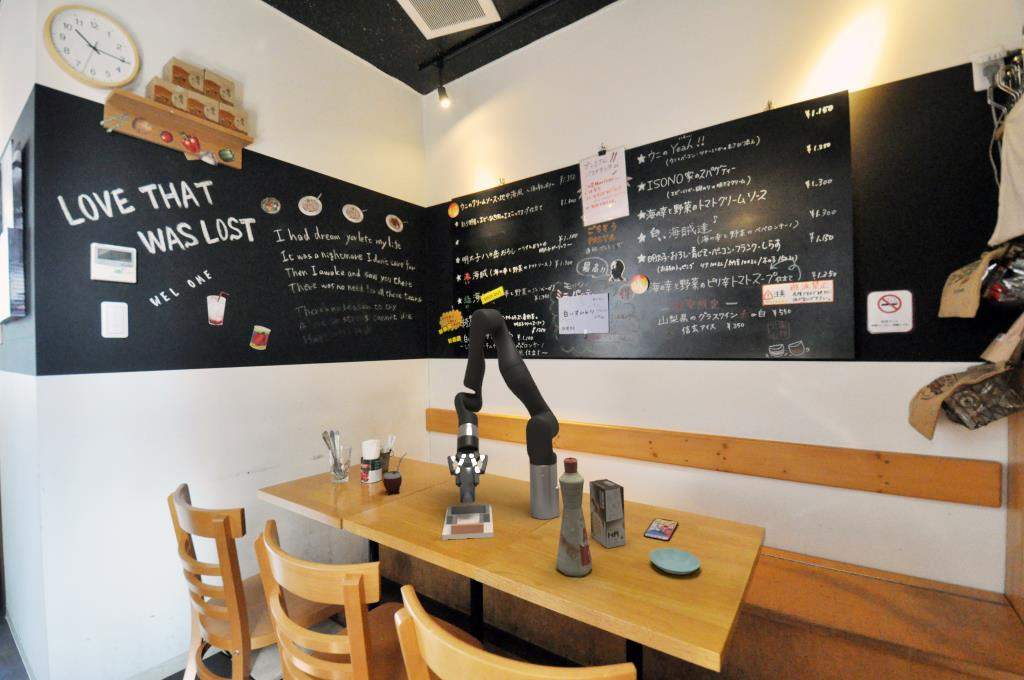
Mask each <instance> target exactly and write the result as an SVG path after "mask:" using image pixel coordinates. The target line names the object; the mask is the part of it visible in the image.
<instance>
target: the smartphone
mask: <svg viewBox="0 0 1024 680" xmlns="http://www.w3.org/2000/svg"><path fill="white" fill-rule="evenodd" d="M679 526H680V525H679V522H678V521H677V520H672V519H666V518H659V517H654V519H653V520H652V522H651V523H650V524H649V526H648V528H647V529H646V530H645V531H644V533H643V537H644V538H646V539H650V540H657V541H660V542H661V541H662V542H667V543H669V542H670V541H671V539H672V537H673V536H674V534H675V532H676V530H677V529H678V527H679Z"/></svg>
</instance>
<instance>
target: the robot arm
mask: <svg viewBox="0 0 1024 680" xmlns="http://www.w3.org/2000/svg"><path fill="white" fill-rule="evenodd" d="M469 323H470V324H469V336H468V337H469V339H468V355H467V363H466V367H465V368H466V369H465V372H464V376H463V377H464V378H463V386H464V387H466V389H469V390H471V391H473V392H474V393H473V392H472V393H471V392H467V391H460V392H458V393H457V394H455V396H454V400H453V404H454V409H455V412H456V415H457V419H458V420H457V421H458V425H457V434H456V435H457V436H456V437H457V438H456V454H455V455H454V456H451V455H448V456H447V458H446V459H447V465H448V468H449V474H450V476H454V477H455V481H454V483H455V485H456V486H457V488H460V466H461V465H466V464H470V465H475V488H476V487H478V486H479V485H480V476H481V475H485V474H486V470H487V466H488V462H489V456H488V454H485V455H481V454H480V435H479V417H478V415H477V414H478V412H480V411H481V410H482V408H483V404H484V403H483V393H482V392H483V383H484V378H485V373H486V366H487V365H486V359H485V356H484V353H485V352H484V346H485V340H486V338H487V336H490V339H491V340H492V342H493V343H494V345H495V348H496V351H497V362H498V363H497V366H498V370H499V373H500V375H501V376H502V379H503V381H504V383H505V385H506V386H507V388H508V390H509V391H510V392H511V393H512V394H513V395H514V396H515V397H516V398H517V399H519V402H521V403H522V404H523V406H524V407H525V408H526V410H527V412H528V414H529V416H530V418H529V420H528V421H527V423H526V427H525V440H526V441H525V442H526V453H527V457H528V460H529V461H528V462H529V464H528V466H529V497H530V498H529V499H530V500H529V503H530V504H529V505H530V506H529V507H530V509H529V510H530V516H531V517H533V518H535V519H538V520H549V519H554V518H557V517H559V518H560V488H559V484H558V455H557V453H556V452H555V451H554V447H553V439H555V438H556V437H557V436H558V434H559V432H560V424H559V420H558V419H557V417H556V416H555V414H554V413H553V412H554V411H552V410H551V408H550V406H549V405H548V403H547V402H546V400H545V399H544V397H543V396H542V394H541V392H540V389H539V388H538V385H537V384H536V382H535V380H534V378H533V376H532V374H531V372H530V370H529V368H528V366H527V364H526V363H525V361H524V359H523V357H522V356H521V354H520V351H519V349H518V348H517V346H516V344H515V342H514V340H513V338H512V336H511V334H510V330H509V328H508V325H507V323H506V321H505V319H504V317H503V315H502V314H501V312H500V311H499V310H497V309H493V308H480V309H476V310H475V311H473V313H472V315H471V317H470V322H469ZM476 413H477V414H476ZM455 461H456V462H457V463H458V464H457V467H456V469H454V463H455ZM479 461H481V463H482V465H481V468H479V466H478V462H479Z"/></svg>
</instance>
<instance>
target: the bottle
mask: <svg viewBox="0 0 1024 680" xmlns="http://www.w3.org/2000/svg"><path fill="white" fill-rule="evenodd" d="M563 466H564V467H563V468H564V472H563V473H562V475H561V476H560V477H559V479H558V481H559V486H560V488H559V490H560V494H561V499H562V505H563V506H562V513H561V525H560V531H559V532H560V533H559V540H558V549H557V556H556V561H555V566H556V568H557V569H558V570H559V571H560V572H562V573H563V574H565V576H572V577H584V576H586V575H588V573H590V571H591V569H592V567H593V560H592V554H591V549H590V544H589V543H590V542H589V538H588V532H587V526H586V519H585V515H584V511H583V510H584V509H583V506H582V505H583V498H584V496H583V494H584V484H585V479H584V477H583V476H582V475H581V474H580V473H579V471H578V459H577V458H576V457H572V456H570V457H565V458H564V459H563Z"/></svg>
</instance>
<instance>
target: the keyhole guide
mask: <svg viewBox="0 0 1024 680" xmlns="http://www.w3.org/2000/svg"><path fill="white" fill-rule="evenodd" d="M493 524H494V522H493V512H492V506H491V505H490V504H489V503H480V504H478V503H477V504H459V505H458V504H457V505H455V504H454V505H448V507H447V509H446V513H445V519H444V522H443V527H442V533H441V541H449V540H448V539H456V540H468V539H467V538H474V539H491V538H492V539H493V538H494V527H493Z"/></svg>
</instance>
